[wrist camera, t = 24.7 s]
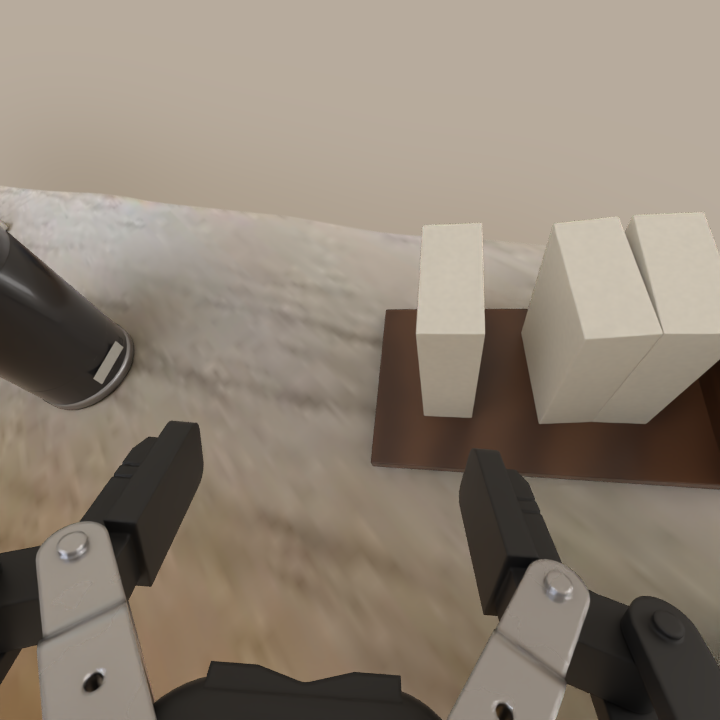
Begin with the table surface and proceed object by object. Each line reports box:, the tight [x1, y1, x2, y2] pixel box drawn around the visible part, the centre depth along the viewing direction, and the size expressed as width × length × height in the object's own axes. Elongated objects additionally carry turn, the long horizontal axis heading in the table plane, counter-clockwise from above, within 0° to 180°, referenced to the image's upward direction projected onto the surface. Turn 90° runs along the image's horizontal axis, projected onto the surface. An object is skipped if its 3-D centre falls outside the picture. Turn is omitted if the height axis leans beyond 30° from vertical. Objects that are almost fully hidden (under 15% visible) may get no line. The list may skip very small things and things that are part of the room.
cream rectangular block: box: [521, 216, 663, 424], centre depth 28 cm, size 4×8×12 cm, turn 179°
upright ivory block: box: [416, 223, 485, 418], centre depth 30 cm, size 4×8×12 cm, turn 174°
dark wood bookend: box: [371, 309, 720, 489], centre depth 28 cm, size 25×14×14 cm, turn 84°
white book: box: [591, 212, 720, 424], centre depth 28 cm, size 4×8×12 cm, turn 174°
